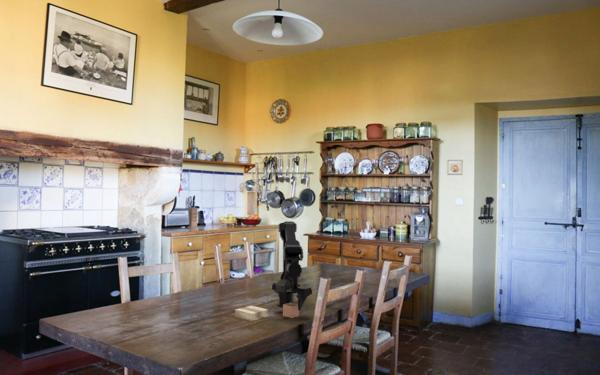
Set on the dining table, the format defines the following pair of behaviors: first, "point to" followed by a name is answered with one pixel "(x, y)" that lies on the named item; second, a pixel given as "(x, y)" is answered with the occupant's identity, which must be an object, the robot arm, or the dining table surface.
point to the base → (251, 313)
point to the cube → (290, 310)
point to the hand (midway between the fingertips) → (291, 308)
